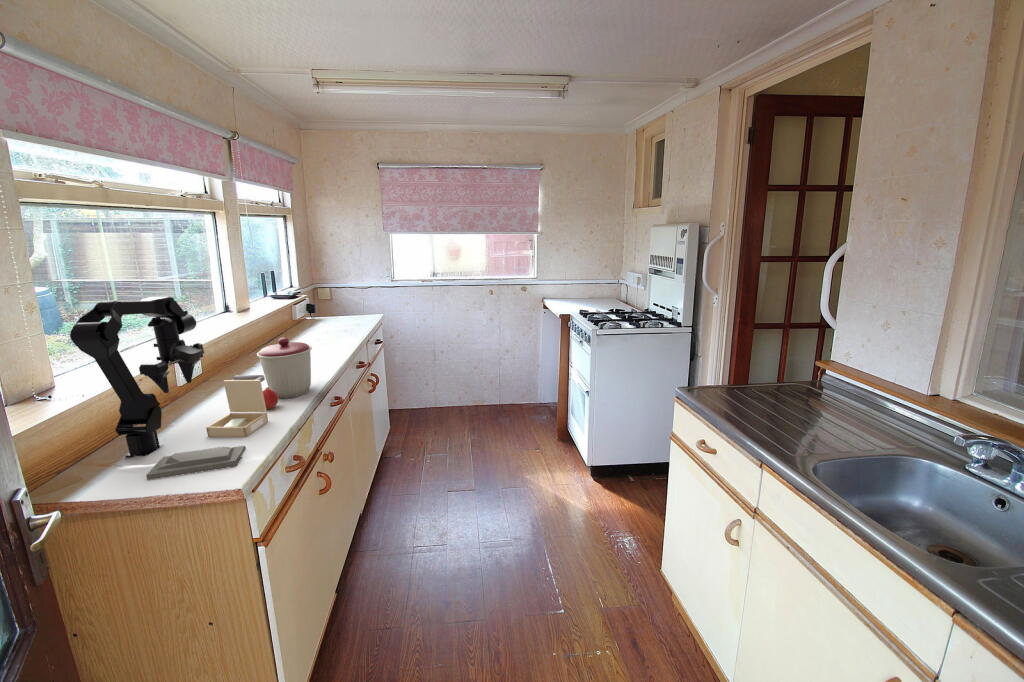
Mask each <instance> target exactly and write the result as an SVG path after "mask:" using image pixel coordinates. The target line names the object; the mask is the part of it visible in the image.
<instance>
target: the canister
mask: <svg viewBox="0 0 1024 682" xmlns="http://www.w3.org/2000/svg"><path fill="white" fill-rule="evenodd" d="M312 349H313V347H312V346H311V345H310V344H308V343H306V342H301V341H295V342H294V341H292V342H291V341H290V340H289V338H288V337H280V338H279V339H278V340H277V343H275V344H270V345H268V346H265V347H263V348H262V349H261V350H260V351H258V352H257V353H256V356H257V357H258V358H259V361H260V365H261V367H262V371H263V375H264V378H265V381H266V384H267V387H269V389H270V390H272V391H274V392H275V393H276V394H277V395H278V399H287V398H289V397H290V398H295V397H299V396H302V395H304V394H305V393H307V392H308V391H309V390H310V388H311V385H312V380H311V379H312V367H311V366H312V365H311V364H312V363H311V362H312V361H311V358H312V357H311V351H312Z"/></svg>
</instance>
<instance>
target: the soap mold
mask: <svg viewBox="0 0 1024 682" xmlns="http://www.w3.org/2000/svg"><path fill="white" fill-rule="evenodd" d="M245 450H246V446H245V445H239V446H233V447H230V446H217V447H212V448H205V449H198V450H191V451H183V452H182V451H181V452H175V453H173V454H172V455H165V456H163V457H161V458H160V459H159V461H158V462H157V463H156V464H155V465H154V466H153V467H152V468H151V469H150V470H149V471H148V473H146V474H145V476H146V480H147V481H149V480H157V479H161V478H162V479H163V477H164V478H170V476H171V477H176V475H177V476H182V474H184V475H188V473H190V474H195V472H197V473H201V471H204V472H208V470H210V471H214V470H215V469H217V470H221V469H222V468H223V469H228V468H227V467H230V468H235V466H236V467H238V466H239V464H240V462H241V460H242V458H243V457H242V455H243V454H244V452H245ZM240 459H241V460H240ZM239 461H240V462H239ZM238 463H239V464H238ZM223 469H222V470H223ZM215 471H216V470H215Z"/></svg>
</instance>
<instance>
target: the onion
mask: <svg viewBox="0 0 1024 682" xmlns="http://www.w3.org/2000/svg"><path fill="white" fill-rule="evenodd" d="M262 391H263V396H264V401H265V406H266V410H271V409H274V408H275V406H277V404H278V403H279V398H278V395H277V394H276V393H275V392H274V391H272V390H270V389H269V387H268V386H267V387H265V389H264V390H262Z"/></svg>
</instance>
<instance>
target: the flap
mask: <svg viewBox="0 0 1024 682" xmlns="http://www.w3.org/2000/svg"><path fill="white" fill-rule="evenodd" d="M264 381H266V378H265V375H264V374H258V375H257V374H246V375H244V374H241V375H239V374H235V375H234V376H233V379H231V380H230V379H229V380H228V379H226V380H225V379H224V380H223V386H224V390H225V395H226V399H227V404H228V408H229V413H267V412H268V411H267V410H268V409H266V406H265V401H264V396H263V391H264V390H263V386H262V382H264Z"/></svg>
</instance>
